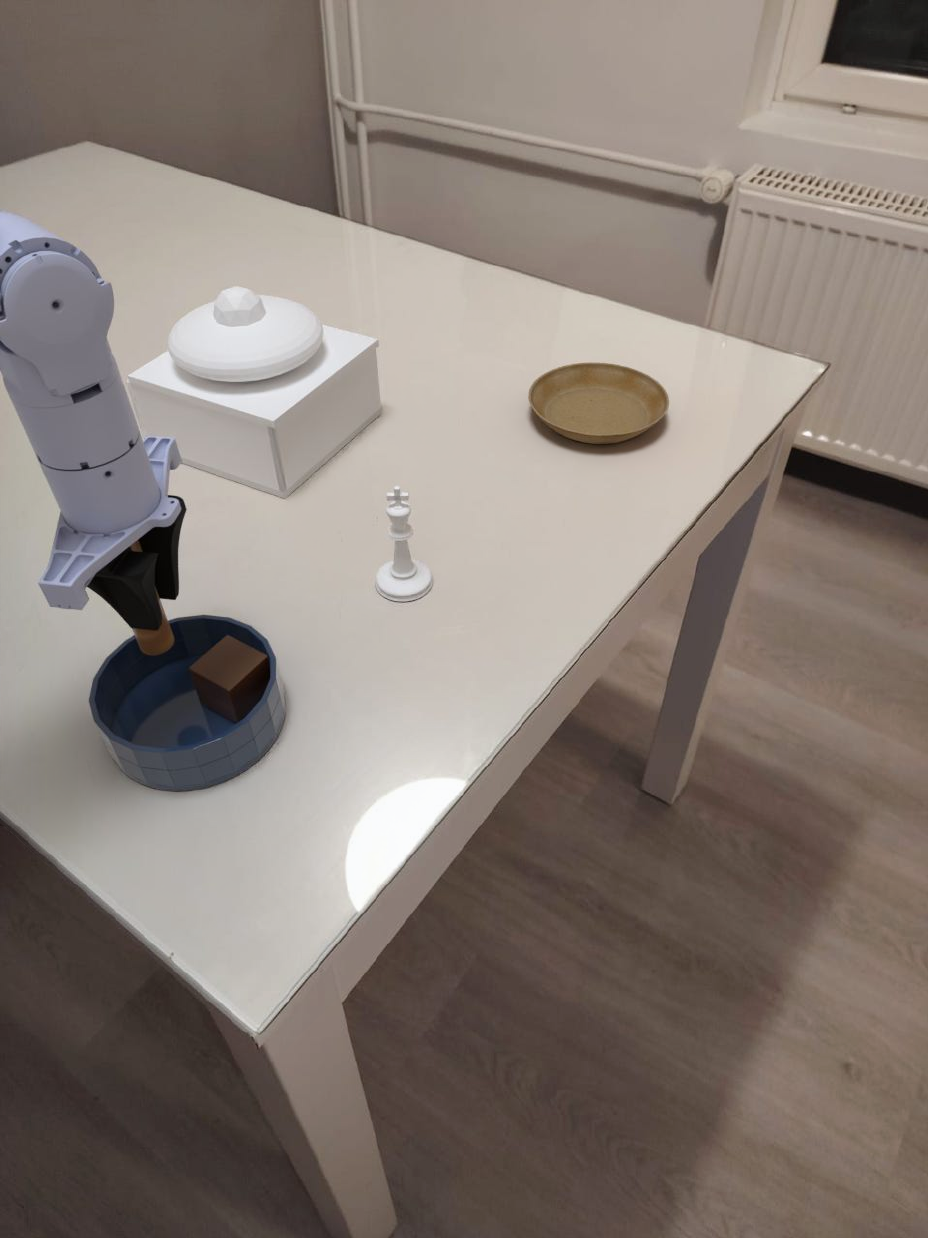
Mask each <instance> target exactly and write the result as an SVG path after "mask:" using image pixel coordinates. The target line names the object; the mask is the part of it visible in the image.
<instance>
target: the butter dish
mask: <svg viewBox="0 0 928 1238" xmlns="http://www.w3.org/2000/svg"><path fill="white" fill-rule="evenodd" d="M379 346H380V342H379V338H376V337H373V336H369V335H364V334H360V333H356V332H352V331H349V330H344V329H341V328H337V327H334V326H330V325H326V324H322V322H321V320H320V319H319V317H318V315H316V313H314V312H313V311H312V310H311V309H309V308H308V307H307V306H305V305H303V304H301V303H299V302H297V301H293V300H290V299H287V298H285V297H280V296H275V295H265V294H257V293H255V292H254V291H253V290H251V289H250V288H246V287H242V286H238V285H234V286H231V287H228V288H226V289H223V290H221V292H220V293H219V295H218V296H217V297H216V299H215V300H212V301H209V302H208V303H205V304H203V305H200V306H197V308H194V309H193V310H191V311H190V312H188V313H186V314H185V315H184V316H182V317H181V318H179V320H178V321H177V322H176V323H175V324H174V325H173V326H172V328H171V330H170V332H169V334H168V336H167V344H166V347H167V351H164V352H162V354H160V355H159V356H157V357H155V358H154V359H152V360H151V361H149V362H147V363H145V364H144V365H142V366H140V367H139V368H138V369H136V370H134V371H132V372H131V373H130V374H128V375H127V379H126V381H125V384H126V387H127V389H128V392H129V393H128V394H129V396H130V399H131V403H132V406H133V408H134V409H133V410H134V413H135V417H136V418H137V419H136V420H137V423H138V426H139V429H140V432H141V436H142V437H143V438H142V439H143V440H144V439H145V438H146V436H160V437H173V438H175V440H176V443H177V447H178V450H179V453H180V456H181V460H182V462H181V463H180V464H184V465H186V466H190V467H193V468H195V469H198V470H201V471H204V472H207V473H210V474H212V475H214V476H218V477H220V478H224V479H227V480H229V481H232V482H236V483H237V484H242V485H243V486H244V485H245V486H247V487H250V488H253V489H255V490H258V491H260V492H264V493H267V494H270V495H272V496H276V497H279V498H282V499H284V500H285V499H287V498H288V497H289V496H290V495H291V494H293V492H295V491H296V490H297V489H298V488H299V487H300V486H302V484H304V482H306V481H307V480H308V479H309V478H310V477H311V476H313V475H314V474H315V473H316V472H317V471H318V470H319V469H321V468H322V467H323V466H324V465H326V463H328V462H329V461H330V460H331V459H332V458H333V457H334V456H335V455H337V453H338V452H340V451H341V450H342V449H343V448H344V447H345V446H347V445H348V444H349V443H350V442H351V441H352V440H353V439H355V438H356V437H357V436H358V435H359V434H360V433H362V431H364V430H365V429H366V428H367V427H368V426H369V425H370V424H371V423H372V422H373V421H375V420H376V419H377V418H378V417H379V416H380V415H381V414H382V404H381V394H380V393H381V391H380V380H379V368H378V356H377V348H378V347H379Z"/></svg>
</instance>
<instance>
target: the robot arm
mask: <svg viewBox="0 0 928 1238" xmlns="http://www.w3.org/2000/svg"><path fill="white" fill-rule="evenodd" d="M114 312H115V295H114V289H113V286H112V283H111V282H109V281H105V280H104V279H103V278H102V276H101V274H100V271H99V269H98V268H97V266H96V265H95V264H94V262H93V261H92V259H91V258H90V257H88V255H86V253H85V252H84V251H83V250H82V249H80V248H79V247H76V246H75V245H74V244H72V243H70V242H69V241H67V240H65V239H63V238H61V237H60V236H58V235H56V234H55V233H53V232H51V231H49V230H48V229H47V228H44V227H42V226H41V225H40V224H37V223H35V222H34V221H32V220H30V219H28V218H26V217H24V216H21V215H18V214H15V213H12V212H9V211H4V210H0V374H1V376H2V381H3V385H4V387H5V391H6V392H7V394H8V397H9V398H10V401H11V403H12V406H13V407H14V409H15V412H16V414H17V416H18V419H19V421H20V423H21V425H22V428H23V430H24V433H25V434H26V436H27V438H28V440H29V441H28V442H29V443H30V445H31V448H32V450H33V453H34V454H35V457H36V459H37V461H38V464H39V466H40V468H41V470H42V472H43V475H44V477H45V479H46V481H47V484H48V486H49V488H50V490H51V492H52V494H53V497H54V500H55V502H56V504H57V506H58V508H59V510H60V512H59V516H58V520H57V524H56V530H55V534H54V538H53V541H52V547H51V551H50V556H49V559H48V560H49V561H48V563H47V566H46V569H45V571H44V572H43V574H42V575H41V577H40V579H39V580H38V582H37V584H38V586H39V588H40V590H41V591H42V594H43V596H44V598H45V600H46V602H47V604H48V606H49V607H50V608H58V609H63V610H64V609H65V610H78V611H82V610H84V608H85V606H86V605H87V604H88V602H89V601H90V597H89V595H88V593H87V591H86V589H87V588H88V589H89V590H90V591H92V592H94V593H95V594H96V595H98V596H99V597H100V598H101V599H103V600H104V602H106V603H107V604H108V605H109V606H110V607H111V608H112V609H113V610H114V611H115V612H116V613H117V614H118V615H119V616H120V617H121V619H122V620H123V621H124V622H125V623H126V624H127V625H128V626H129V628H130V629H132V628H134V629H144V630H153V631H157V630H159V628H160V626H161V624H162V613H161V608H160V605H159V601H158V597H157V594H156V589H157V592H158V595H159V598H160V600H167V601H168V600H169V601H176V600H177V599H178V596H179V594H180V573H179V546H180V538H181V537H180V536H181V531H182V526H183V524H184V523H183V522H184V519H185V517H186V516H185V515H186V513H187V506H186V502H185V500H184V499H183V498H182V497H181V496H179V495H174V494H169V488H170V487H169V485H170V475H171V471H174V470H177V469H178V468H179V466H180V465H181V464H182V463H181V462H182V460H181V456H180V453H179V450H178V447H177V443H176V440H175V438H173V437H160V436H146V438H145V439H144V438H142V437H143V436H142V433H141V430H140V427H139V424H138V421H137V419H136V415H135V412H134V409H133V407H132V404H131V401H130V398H129V396H128V392H127V390H126V386H125V384H124V381H123V378H122V375H121V372H120V369H119V366H118V363H117V360H116V357H115V355H114V354H113V352H112V348H111V345H110V341H109V340H108V333H109V330H110V327H111V325H112V321H113V318H114ZM137 540H139V543H140V546H141V549H142V551H143V552H137V551H132V549H131V546H130V545H132V544H133V543H134V542H135V541H137ZM155 587H156V589H155Z"/></svg>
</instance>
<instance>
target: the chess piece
mask: <svg viewBox="0 0 928 1238" xmlns="http://www.w3.org/2000/svg"><path fill="white" fill-rule="evenodd" d="M393 487H394V488H393V492H386V500H387V501H391V502H390V503H388V504H387V505H386V508H385V513H386V515H387V517H388V518H389V520H390V523H391V525H390V526H388V528H387V531H386V534H387V537H388V538H389V539H391V540H393V541H394V548H393V552H394V553H393V560H390V561H388V562H385V563H384V564H383V565H382V566H381V567H380V568H379V569H378V570H377V572H376V574H375V575H376V576H375V584H374V585H375V588H376V591H377V592H378V594H380V596H382V597H384V598H385V599H387V600H389V601H393V602H398V603H399V602H400V603H405V602H406V603H407V602H412V601H415V600H418V599H421V598H422V597H425V595H427V594H428V593H429V592H430V590H431V589H432V586H433V583H434V582H433V576H432V572H431V569H430V568H429V566H427V565H426V563H424V562H422V561H420V560H417V559H415V558H412V556H411V552H410V548H409V542H408V540H409V539H411V538H412V537H413V535H414V529H413V526H411V525H410V524H409V523H408V521H409V519H410V518H409V517H410V515H411V513H412V507H411V504H409V503H408V502H407V501H409V492H401V486H400V485H394V486H393Z"/></svg>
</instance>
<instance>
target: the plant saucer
mask: <svg viewBox="0 0 928 1238" xmlns="http://www.w3.org/2000/svg"><path fill="white" fill-rule="evenodd" d="M527 397H528V398H527V399H528V402H529V405H530V406H531V408H532V410H533V412H534V413H535V415H537V417H538V418H539V420H541V421H542V423H544V424H545V425H546V426H548V427H549V428H550V429H551V430H553V431H554V432H556V433H557V434H558V435H561V436H563V437H565V438H566V439H569V440H572V441H576V442H579V443H584V444H591V445H608V444H609V445H610V444H616V443H621V442H624V441H628V440H630V439H633V438H635V437H637V436H639V435H641V434H642V433H645V432H646V431H647V430H649V429H650V428H652V427H653V426H654V425H656V424H657V423H658V422H659V421H660V420H661V419H662V418H663V417H664V416H665V415H666V413H667V412H668V410H669V407H670V398H669V394H668V392H667V391H666V389H665V387H664V386H663V385H662V384H661V383H660V382H659V381H658V380H657V379H655V378H653V377H652V376H650V375H649V374H646V373H644V372H642V371H640V370H637V369H635V368H631V367H629V366H625V365H620V364H615V363H607V362H579V363H570V364H565V365H562V366H559V367H556V368H553V369H551V370H549V371H547V372H545V373H543V374H541V375H540V376H538V377H537V378H536V379H535V380H534V381H533V383H532V384H531V386H530V387H529V390H528V395H527Z"/></svg>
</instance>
